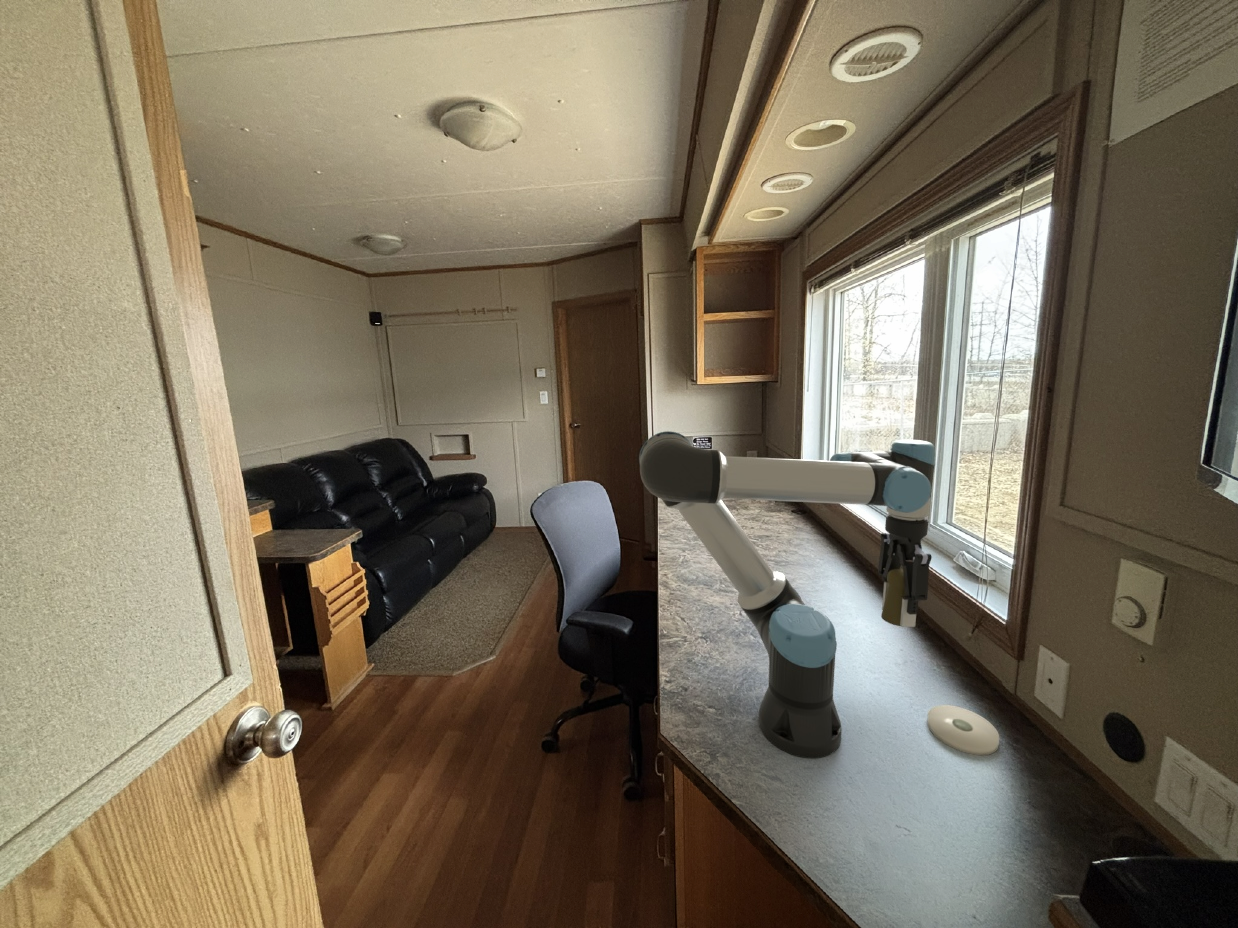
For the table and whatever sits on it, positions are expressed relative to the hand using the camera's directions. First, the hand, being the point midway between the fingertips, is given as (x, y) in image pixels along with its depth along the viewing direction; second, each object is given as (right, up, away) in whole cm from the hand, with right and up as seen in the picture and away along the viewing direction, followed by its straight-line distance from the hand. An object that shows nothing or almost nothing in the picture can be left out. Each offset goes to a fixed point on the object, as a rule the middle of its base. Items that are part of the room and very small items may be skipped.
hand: (897, 617), depth 101 cm
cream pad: (+5, -18, -12) cm, 22 cm away
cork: (0, -1, 0) cm, 1 cm away
